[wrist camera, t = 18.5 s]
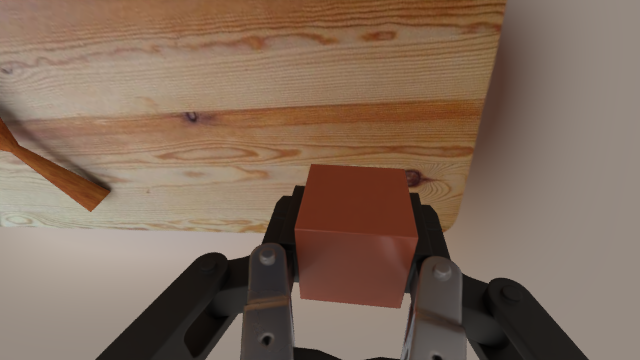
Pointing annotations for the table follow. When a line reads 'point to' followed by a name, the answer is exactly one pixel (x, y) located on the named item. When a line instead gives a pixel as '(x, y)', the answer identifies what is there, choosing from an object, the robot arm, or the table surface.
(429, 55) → the table surface
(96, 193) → the purple toy maraca
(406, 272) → the block
